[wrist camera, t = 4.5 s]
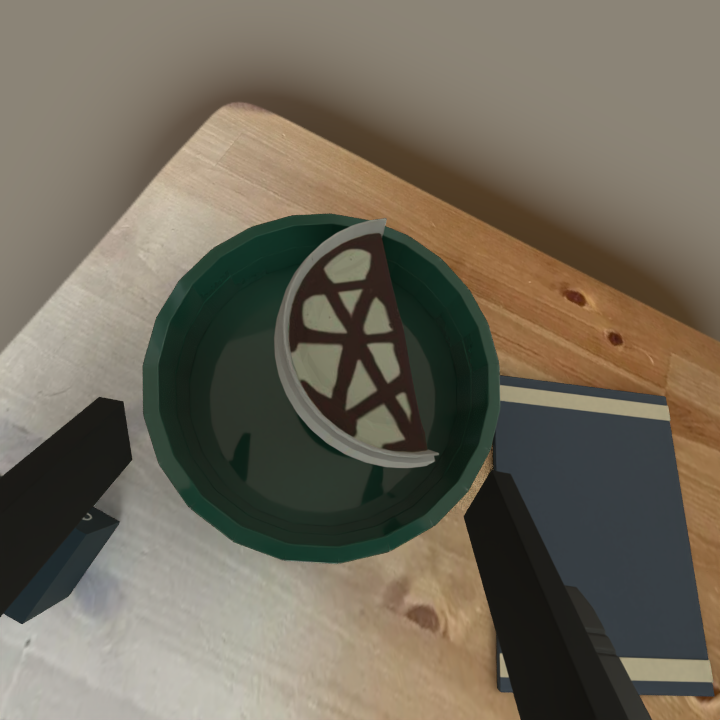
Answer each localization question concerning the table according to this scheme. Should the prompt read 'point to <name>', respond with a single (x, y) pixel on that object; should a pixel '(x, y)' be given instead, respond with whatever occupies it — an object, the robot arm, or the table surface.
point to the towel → (610, 521)
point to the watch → (64, 567)
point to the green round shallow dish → (279, 418)
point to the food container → (350, 352)
